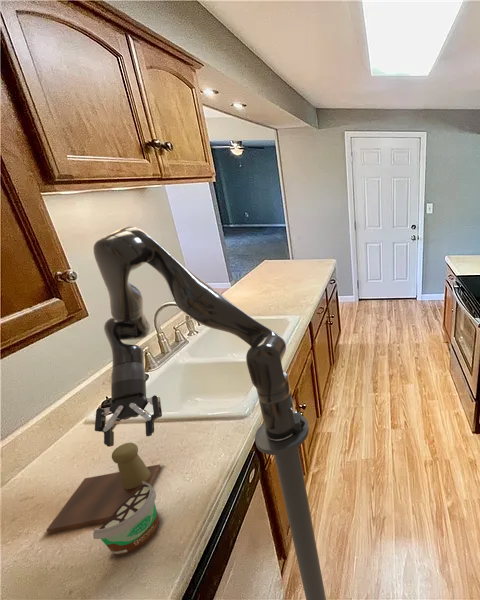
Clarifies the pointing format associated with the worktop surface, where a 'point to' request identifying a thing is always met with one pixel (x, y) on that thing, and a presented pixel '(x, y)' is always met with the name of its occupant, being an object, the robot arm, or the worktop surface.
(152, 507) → the food container
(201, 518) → the worktop surface
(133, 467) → the cork
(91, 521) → the cutting board
